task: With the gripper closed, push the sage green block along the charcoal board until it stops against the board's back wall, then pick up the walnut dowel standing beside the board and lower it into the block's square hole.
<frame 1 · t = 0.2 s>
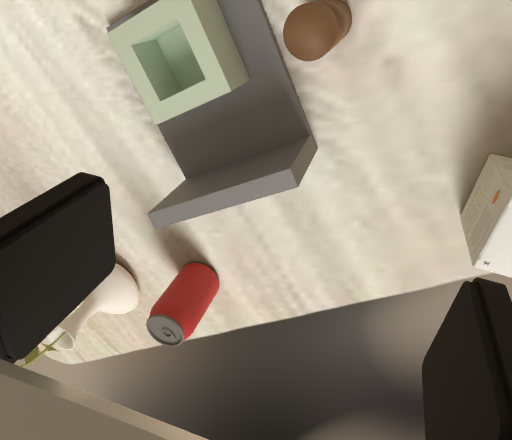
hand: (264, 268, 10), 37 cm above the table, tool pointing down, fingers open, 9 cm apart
small box: (499, 190, 43), on the table
sage block: (181, 57, 42), point 4 cm above the table, slide at 0.0 cm
flower in vase: (112, 280, 70), on the table
walnut dowel: (331, 21, 40), on the table
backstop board: (214, 87, 47), on the table
beer can: (202, 276, 63), on the table
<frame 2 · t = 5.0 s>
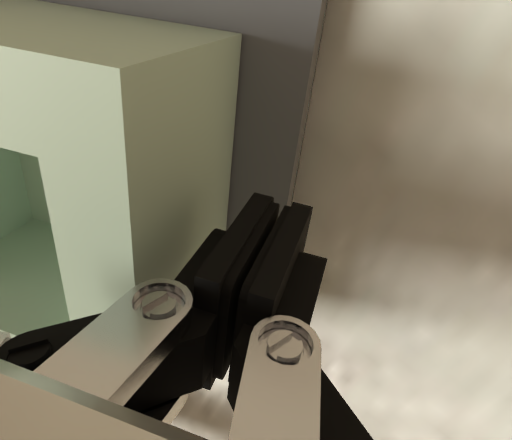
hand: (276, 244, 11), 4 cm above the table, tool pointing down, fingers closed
sage block: (46, 191, 13), point 4 cm above the table, slide at 0.3 cm, touching gripper
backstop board: (39, 128, 17), on the table
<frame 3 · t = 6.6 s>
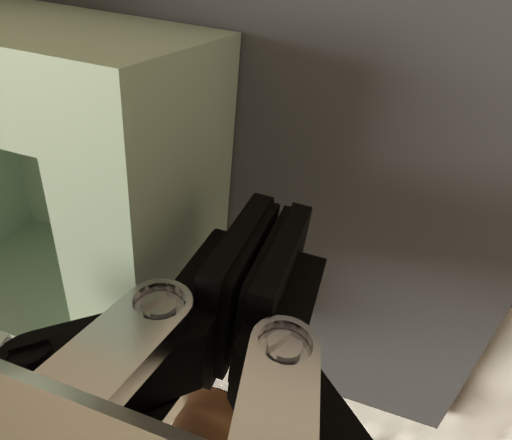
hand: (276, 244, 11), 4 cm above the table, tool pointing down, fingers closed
sage block: (46, 192, 12), point 4 cm above the table, slide at 8.1 cm, touching gripper
walnut dowel: (218, 410, 23), on the table
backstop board: (213, 169, 15), on the table
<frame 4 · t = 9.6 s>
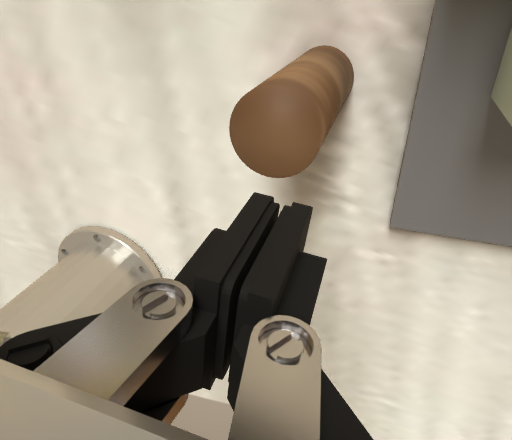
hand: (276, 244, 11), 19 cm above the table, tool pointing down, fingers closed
walnut dowel: (323, 78, 27), on the table
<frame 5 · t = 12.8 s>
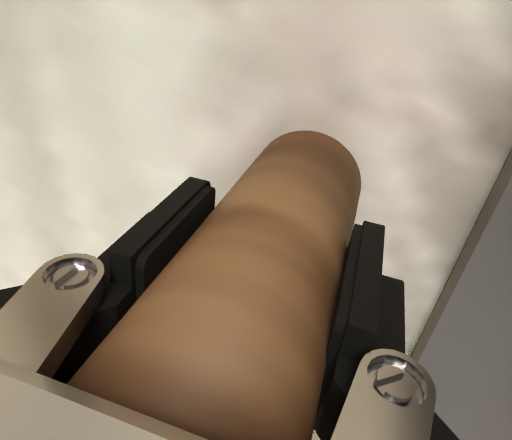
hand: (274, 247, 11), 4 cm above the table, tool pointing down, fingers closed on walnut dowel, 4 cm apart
walnut dowel: (306, 182, 15), on the table, touching gripper
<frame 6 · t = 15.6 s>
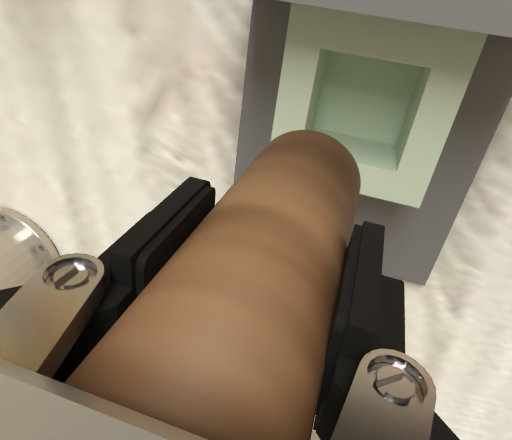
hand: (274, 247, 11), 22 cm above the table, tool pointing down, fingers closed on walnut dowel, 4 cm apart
sage block: (363, 101, 26), point 4 cm above the table, slide at 8.0 cm
walnut dowel: (305, 182, 15), point 17 cm above the table, touching gripper
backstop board: (353, 138, 31), on the table
when the fingers open (8 cm above the table, at t = 18.6 s): walnut dowel drops 1 cm, resting on sage block.
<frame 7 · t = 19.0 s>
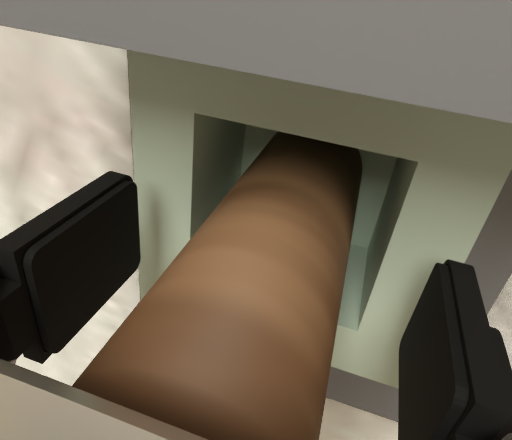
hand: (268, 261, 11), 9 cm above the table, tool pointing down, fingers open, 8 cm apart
sage block: (302, 189, 14), point 4 cm above the table, slide at 8.0 cm, touching walnut dowel
walnut dowel: (311, 168, 16), point 2 cm above the table, touching sage block
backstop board: (305, 222, 20), on the table
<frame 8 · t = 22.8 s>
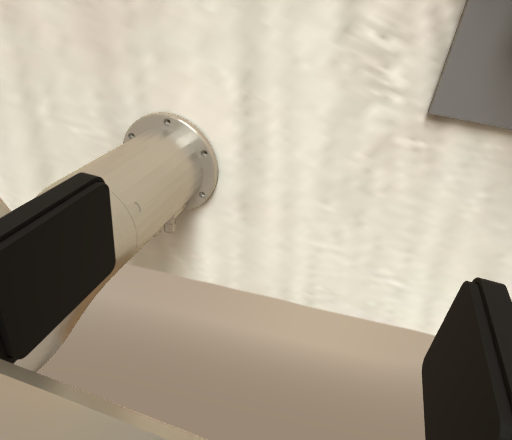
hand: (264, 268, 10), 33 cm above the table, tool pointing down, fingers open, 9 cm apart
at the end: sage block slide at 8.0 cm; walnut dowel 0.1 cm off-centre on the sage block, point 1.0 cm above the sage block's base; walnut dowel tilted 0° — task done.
